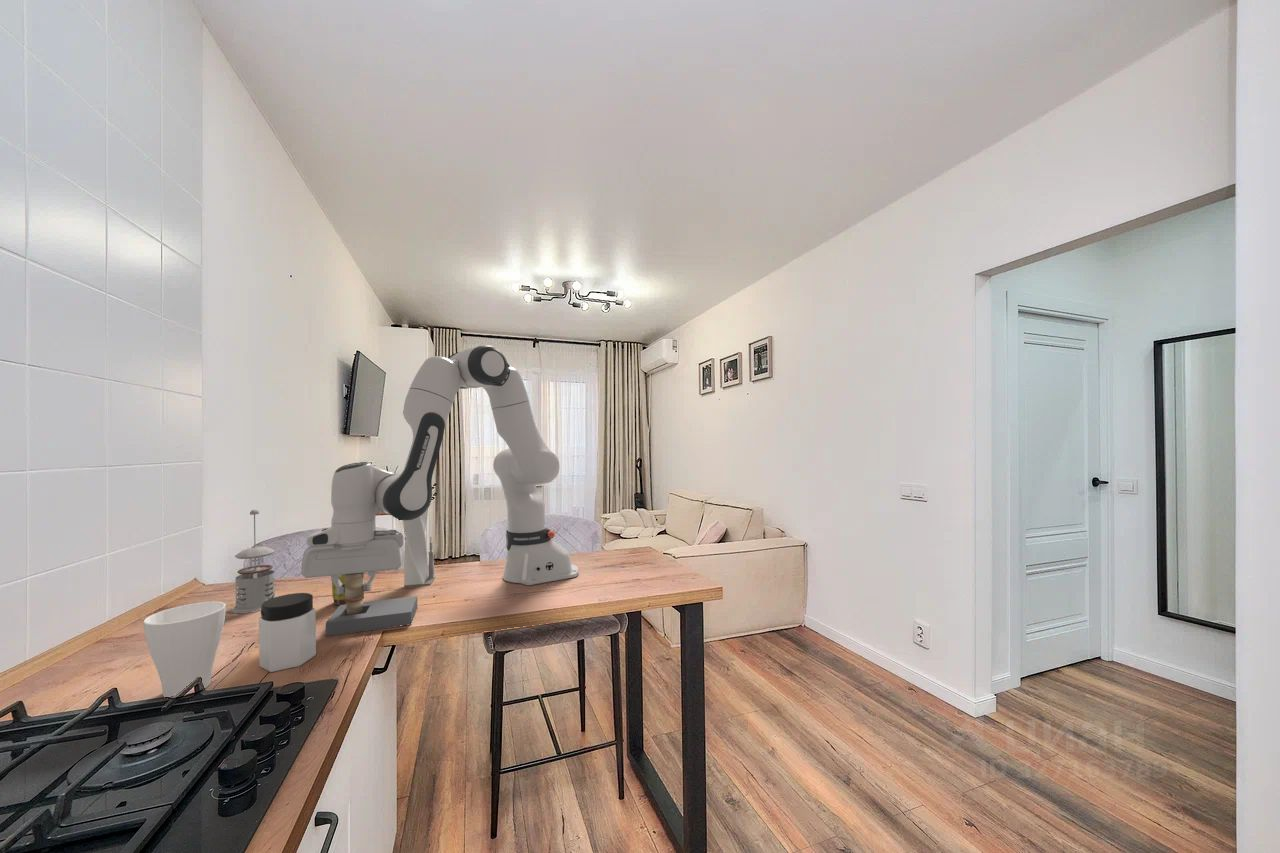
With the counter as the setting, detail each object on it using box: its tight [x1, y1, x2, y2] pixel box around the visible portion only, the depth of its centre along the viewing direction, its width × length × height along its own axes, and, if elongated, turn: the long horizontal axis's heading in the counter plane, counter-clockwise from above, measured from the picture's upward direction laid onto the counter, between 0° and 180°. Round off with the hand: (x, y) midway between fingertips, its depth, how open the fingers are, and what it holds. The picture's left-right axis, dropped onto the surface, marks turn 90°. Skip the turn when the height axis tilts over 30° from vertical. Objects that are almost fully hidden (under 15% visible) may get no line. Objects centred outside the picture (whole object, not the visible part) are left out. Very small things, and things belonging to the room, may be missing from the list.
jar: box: [258, 592, 317, 673], centre depth 93 cm, size 9×8×12 cm
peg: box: [345, 573, 365, 615], centre depth 111 cm, size 4×4×9 cm
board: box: [325, 595, 418, 637], centre depth 112 cm, size 17×11×3 cm, turn 108°
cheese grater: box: [402, 508, 436, 588], centre depth 140 cm, size 8×8×28 cm
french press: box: [230, 509, 276, 614], centre depth 124 cm, size 10×12×25 cm
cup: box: [142, 601, 227, 698], centre depth 83 cm, size 10×10×14 cm
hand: (354, 592), depth 111 cm, fingers closed on peg, 4 cm apart
